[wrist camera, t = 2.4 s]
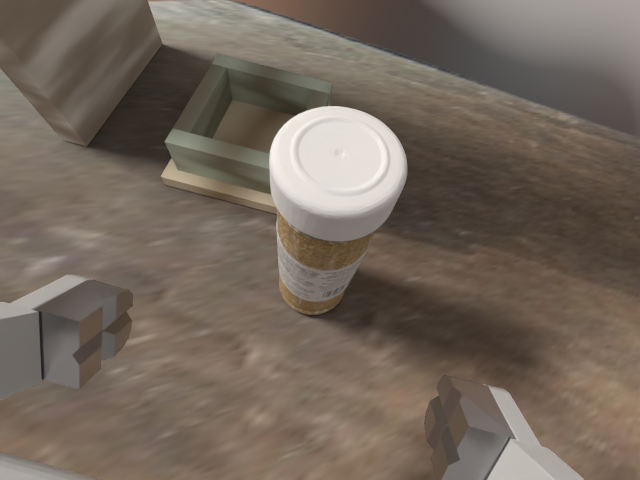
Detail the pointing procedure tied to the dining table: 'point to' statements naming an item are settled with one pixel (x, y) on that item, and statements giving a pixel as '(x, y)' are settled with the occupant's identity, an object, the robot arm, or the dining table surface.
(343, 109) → the sprinkles bottle
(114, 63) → the awning socket
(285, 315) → the dining table surface
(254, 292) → the dining table surface
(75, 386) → the robot arm
